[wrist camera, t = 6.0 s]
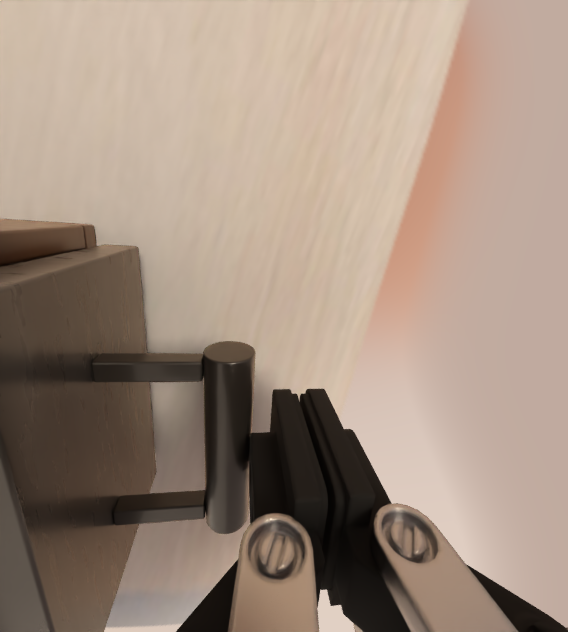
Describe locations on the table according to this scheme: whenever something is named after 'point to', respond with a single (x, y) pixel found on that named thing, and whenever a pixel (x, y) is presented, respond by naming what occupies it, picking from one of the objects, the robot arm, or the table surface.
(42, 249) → the cabinet
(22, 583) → the rack drawer
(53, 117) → the table surface
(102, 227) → the table surface
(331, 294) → the table surface
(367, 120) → the table surface
